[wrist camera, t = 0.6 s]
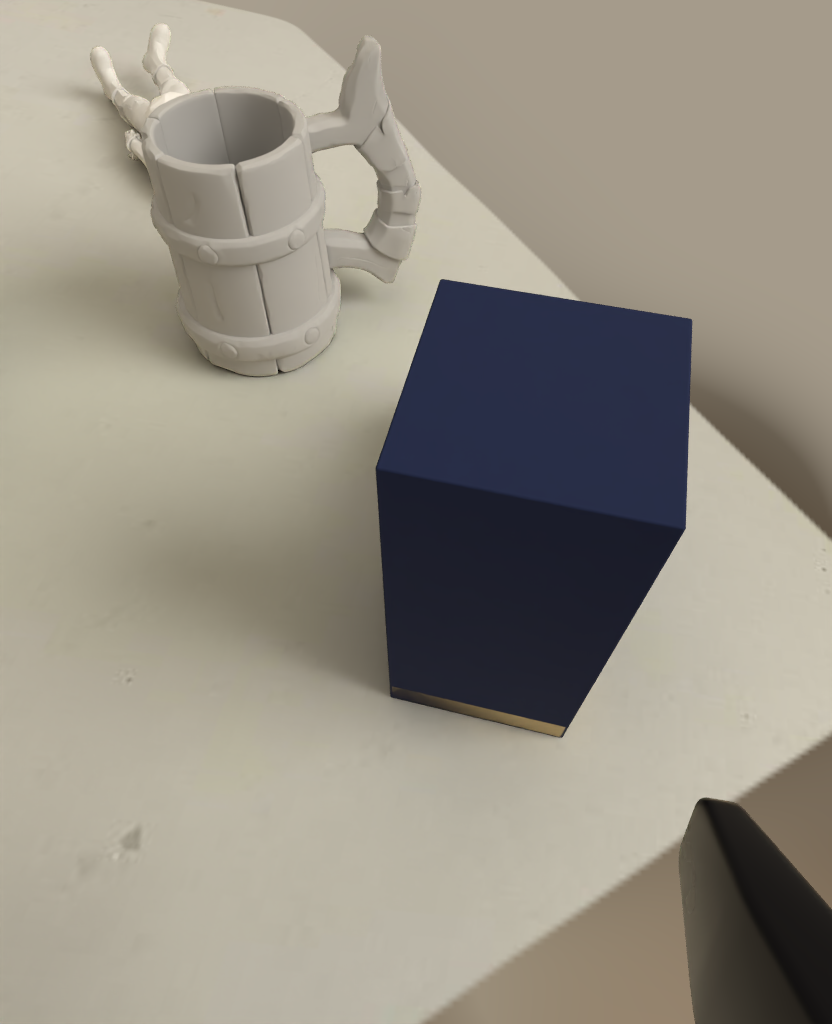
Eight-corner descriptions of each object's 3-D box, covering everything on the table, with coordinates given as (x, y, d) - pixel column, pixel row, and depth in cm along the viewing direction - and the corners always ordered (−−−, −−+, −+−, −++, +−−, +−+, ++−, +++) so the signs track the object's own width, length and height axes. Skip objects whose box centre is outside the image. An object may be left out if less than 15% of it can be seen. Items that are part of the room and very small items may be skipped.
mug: (174, 295, 36) (87, 34, 27) (392, 248, 39) (386, -9, 29) (202, 399, 32) (112, 137, 23) (443, 338, 35) (457, 77, 25)
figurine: (165, 19, 47) (289, 120, 37) (187, 84, 50) (306, 192, 40) (61, 55, 45) (164, 171, 35) (91, 120, 48) (192, 241, 39)
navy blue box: (562, 738, 24) (686, 529, 13) (390, 697, 25) (374, 468, 14) (598, 447, 31) (698, 158, 20) (463, 422, 32) (491, 130, 21)
